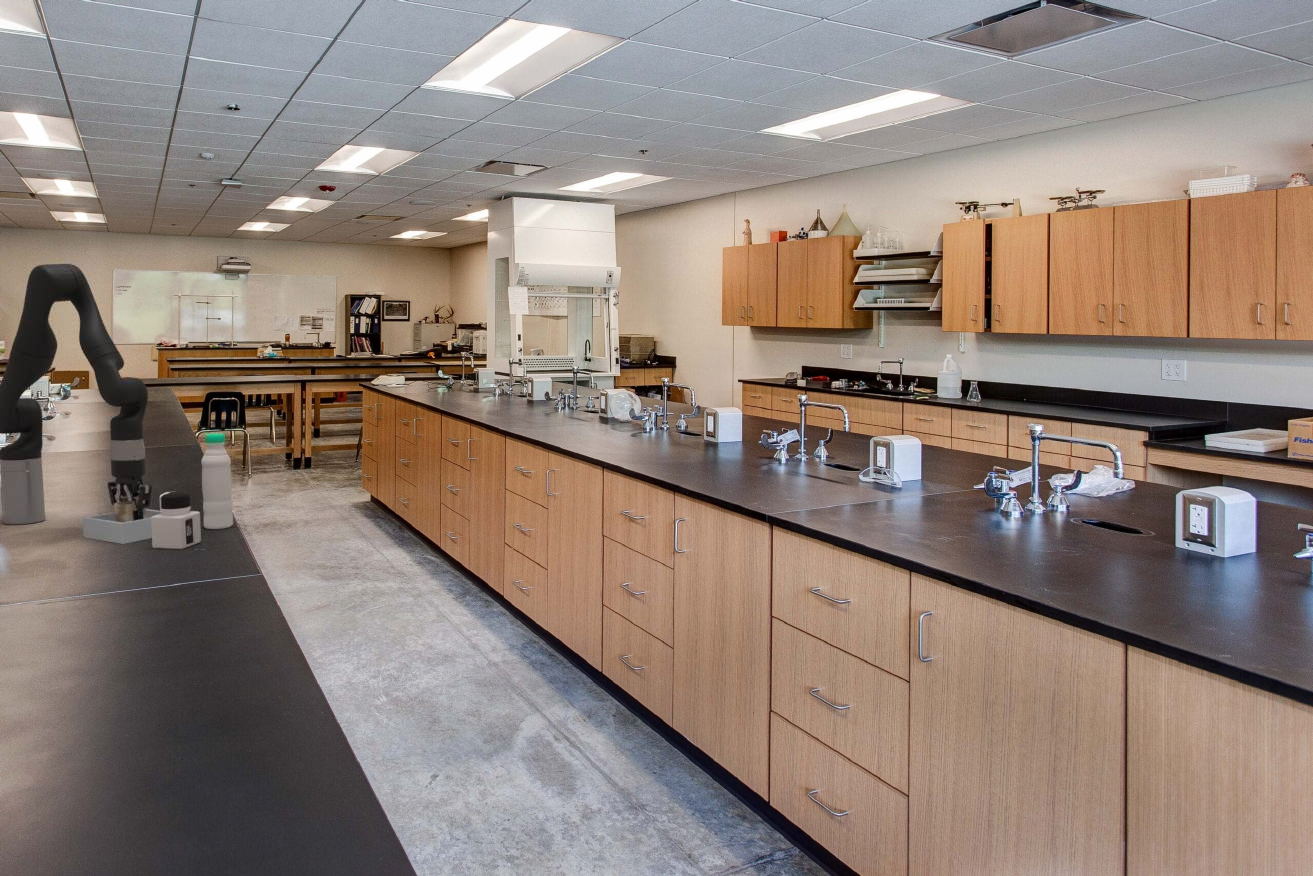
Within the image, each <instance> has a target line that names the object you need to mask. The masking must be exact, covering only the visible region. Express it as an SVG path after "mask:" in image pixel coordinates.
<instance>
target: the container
mask: <svg viewBox="0 0 1313 876" xmlns="http://www.w3.org/2000/svg"><path fill="white" fill-rule="evenodd" d="M191 505H192V504H191V494H190V493H189V492H187V491H181V490H180V491H179V490H178V491H166V492H164V493H163V494H162V493H161V494H160V495H159V511H161V512H162V514H158V515H155V516H152V517H151V527H152V538H151V542H152V543H151V544H152V545H151V546H152V548H153V549H172V550H173V549H176V550H183V549H185V548H188V547H191V546H194V545H196V544H199V543H201V542H202V541H201V540H202V535H201V534H202V533H201V531H202V530H201V512H200V511H198V510H197V511H194V510H191V507H192V506H191Z"/></svg>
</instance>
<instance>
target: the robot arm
mask: <svg viewBox="0 0 1313 876" xmlns="http://www.w3.org/2000/svg"><path fill="white" fill-rule="evenodd" d="M27 279H28V280H27V284H26V289H25V296H24V302H23V307H22V312H21V317H20V320H19V325H18V327H17V331H16V334H15V337H14V340H13V342H12V346H11V348H10V351H9V352H10V353H9V356H8V361H7V364H6V367H5V370H4V373H3V375H2V378H1V381H0V434H1V435H8V434H19V437H18V438H17V439H16V440H15V441H13V442H12V443H9V444H8V445H6V446H3V447H1V448H0V485H1V486H0V500H1V501H0V502H1V517H2V518H1V519H2V520H1V521H2V522H3V524H5V525H26V524H35V523H39V522H43V521H45V520H46V508H45V507H46V505H45V491H44V490H45V489H44V476H43V475H44V474H43V462H42V461H43V459H42V457H43V456H42V450H43V447H44V446H43V442H44V441H43V411H42V407H41V404H40V402H38V401H37V399H35V398H31V397H22V395H23V394H24V393H25V392H26V391H27V390H28V389H29V388H30V387H31V386H33V385H34V384H35V383H37V381H39V380H40V379H41V378H42V377H44V376H45V375H46V374H47V373H48V372H49V370H50V369H51V368H52V365H53V363H54V360H55V357H56V354H57V350H58V340H57V337H56V335H55V333H54V330H53V328H52V327H51V325H50V321H49V318H50V314H51V313H50V312H51V309H52V307H53V305H54V304H55V303H57V302H58V303H59V302H69V301H70V303H71V304H72V305H73V307H74V308H75V310H76V312H77V313H78V317H79V332H78V333H79V334H78V340H79V346H80V348H81V351H82V353H83V355H84V356H85V358H86V360H87V361H88V363H89V365H90V366H91V368H92V369H93V372H94V379H95V381H96V385H97V388H98V389H97V390H98V391H99V395H100V397H101V398H102V400H103V401H104V402H106V404H108V405H110V406H111V407H115V408H117V407H120V412H119V414H117V415H116V416H114V417H112V418H110V424H109V427H110V428H109V429H110V430H109V431H110V447H109V450H110V451H109V453H110V454H109V455H110V469H111V471H110V472H111V476H112V477H114V478H115V480H114V481H108V482H107V489H108V492H109V493H108V494H109V499H110V503H111V505H112V506H114V503H118V502H124V501H129V502H131V504H132V507H133V510H134V511H133V521H135V520H141V519H144V518H143V509H145V508H146V509H149V508H150V505H151V498H152V489H153V488H152V485H151V484H149V485H147V484H145V483H144V481H143V477H144V475H146V474H147V468H146V467H147V465H146V450H145V449H146V447H145V443H144V429H143V422H144V417H145V415H146V411H147V410H146V409H147V405H148V400H149V392H148V388H147V386H146V384H145V383H144V381H143V380H142V379H140V378H138V377H122V376H121V374H120V372H119V371H121V370H122V369H123V367H125V361H124V359H123V356H122V355H121V352H120V351H119V349H118V347H117V346H116V345H115V343H114V341H113V340H112V338H111V336H110V334H109V332H108V330H107V328H106V325H105V324H104V320H103V318H102V316H101V312H100V310H99V307H98V304H97V302H96V299H95V297H94V294H93V292H92V288H91V286H90V284H89V281H88V280H87V277H86V276H85V274H84V273H83V271H82V270H81V268H80V267H78V266H77V265H75V264H72V263H55V264H54V263H53V264H52V263H46V264H45V263H44V264H39V265H37V266H34V267H33V268H32V270H31V271H30V273H29V276H28V278H27ZM21 397H22V398H21ZM136 501H138V505H137V504H136ZM144 502H145V503H144Z"/></svg>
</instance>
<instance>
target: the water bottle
mask: <svg viewBox="0 0 1313 876" xmlns="http://www.w3.org/2000/svg"><path fill="white" fill-rule="evenodd" d="M204 440H205V443H206V447H207V448H206V450H205V451H204V453H203V456H202V458H201V461H200V462H201V463H200V464H201V467H202V469H201V488H202V498H203V504H202V509H203V527H204V528H205V529H207V530H208V529H209V530H223V529H228V528H231V527H232V526H233V525H234V516H233V501H232V497H233V496H232V493H233V490H232V489H233V488H232V487H233V486H232V471H231V463H232V462H231V461H232V460H231V457H230V455H229V454H228V451H227V450H226V448H225V447H224V445H225V443H226V435H225V434H224V433H221V432H218V433H214V432H213V433H207V434H205V437H204Z"/></svg>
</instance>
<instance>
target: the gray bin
mask: <svg viewBox="0 0 1313 876" xmlns="http://www.w3.org/2000/svg"><path fill="white" fill-rule="evenodd" d="M146 514H147V518H146V519H141V520H135V521H130V522H124V523H122V522H115V511H113V512H108V513H104V514H97V515H90V516H85V517H82V529H83V530H82V533H83V534H82V535H83V538H84V539H85V538H86V539H91V540H97V541H101V542H102V541H103V542H110V543H114V544H121V545H125V544H130V543H134V542H139V541H144V540H148V539H152V527H151V517H152V516H155V515H158V514H162V512H161V511H160V510H158V509H157V510H156V509H149V508H146Z"/></svg>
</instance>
